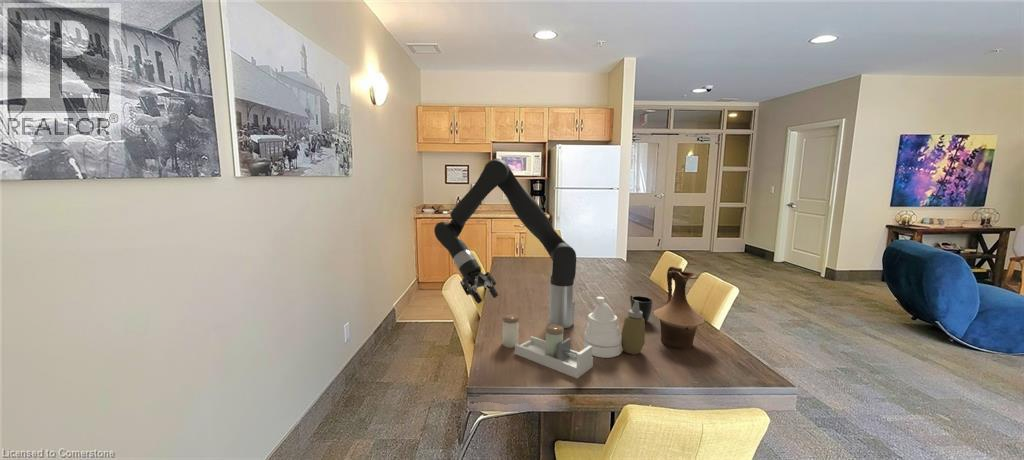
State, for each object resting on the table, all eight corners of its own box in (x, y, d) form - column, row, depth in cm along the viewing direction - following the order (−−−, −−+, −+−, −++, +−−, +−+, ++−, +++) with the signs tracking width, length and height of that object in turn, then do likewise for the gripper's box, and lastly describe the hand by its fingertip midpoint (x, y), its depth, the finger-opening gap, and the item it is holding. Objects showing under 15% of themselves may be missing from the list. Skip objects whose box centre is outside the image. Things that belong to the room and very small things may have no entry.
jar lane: (514, 353, 129) (515, 333, 128) (531, 344, 136) (532, 325, 135) (577, 378, 113) (578, 355, 112) (592, 366, 121) (593, 345, 120)
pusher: (556, 363, 120) (556, 345, 119) (567, 355, 125) (568, 338, 124) (569, 368, 117) (570, 349, 116) (580, 360, 122) (581, 342, 121)
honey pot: (576, 344, 136) (577, 296, 134) (606, 338, 141) (607, 291, 139) (598, 360, 125) (599, 307, 122) (629, 353, 130) (631, 302, 127)
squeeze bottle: (631, 358, 127) (636, 306, 124) (614, 347, 134) (619, 298, 131) (648, 354, 130) (654, 303, 128) (631, 344, 137) (636, 296, 135)
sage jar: (555, 351, 128) (556, 323, 127) (566, 358, 123) (567, 329, 122) (541, 355, 125) (542, 326, 124) (551, 362, 120) (552, 332, 119)
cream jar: (513, 339, 140) (513, 313, 139) (521, 345, 135) (522, 318, 134) (499, 342, 137) (499, 316, 136) (507, 349, 132) (507, 321, 131)
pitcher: (642, 334, 146) (647, 263, 142) (681, 331, 150) (687, 262, 146) (670, 355, 129) (676, 275, 125) (713, 351, 133) (721, 273, 129)
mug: (639, 313, 169) (640, 292, 167) (654, 323, 157) (656, 301, 156) (622, 314, 167) (623, 293, 166) (636, 325, 155) (638, 302, 154)
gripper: (457, 261, 139) (480, 298, 133) (484, 255, 150) (506, 289, 144) (448, 273, 143) (469, 309, 137) (475, 266, 154) (495, 300, 148)
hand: (488, 299), depth 141 cm, fingers open, 8 cm apart
